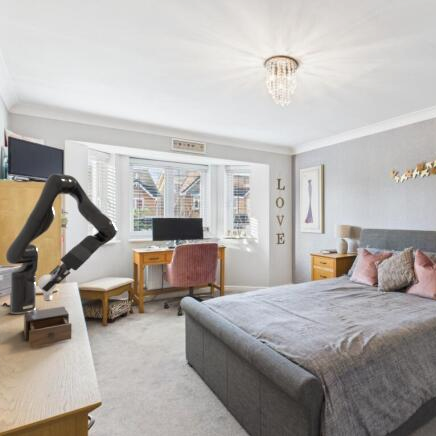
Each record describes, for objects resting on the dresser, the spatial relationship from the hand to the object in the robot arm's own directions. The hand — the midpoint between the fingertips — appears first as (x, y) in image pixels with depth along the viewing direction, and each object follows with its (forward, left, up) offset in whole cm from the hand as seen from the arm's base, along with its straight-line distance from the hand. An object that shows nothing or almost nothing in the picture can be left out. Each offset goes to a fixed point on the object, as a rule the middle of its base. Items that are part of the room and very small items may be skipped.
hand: (42, 288), depth 127 cm
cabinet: (-2, +2, -18) cm, 19 cm away
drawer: (+10, -4, -17) cm, 20 cm away
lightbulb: (+1, +2, -6) cm, 6 cm away
